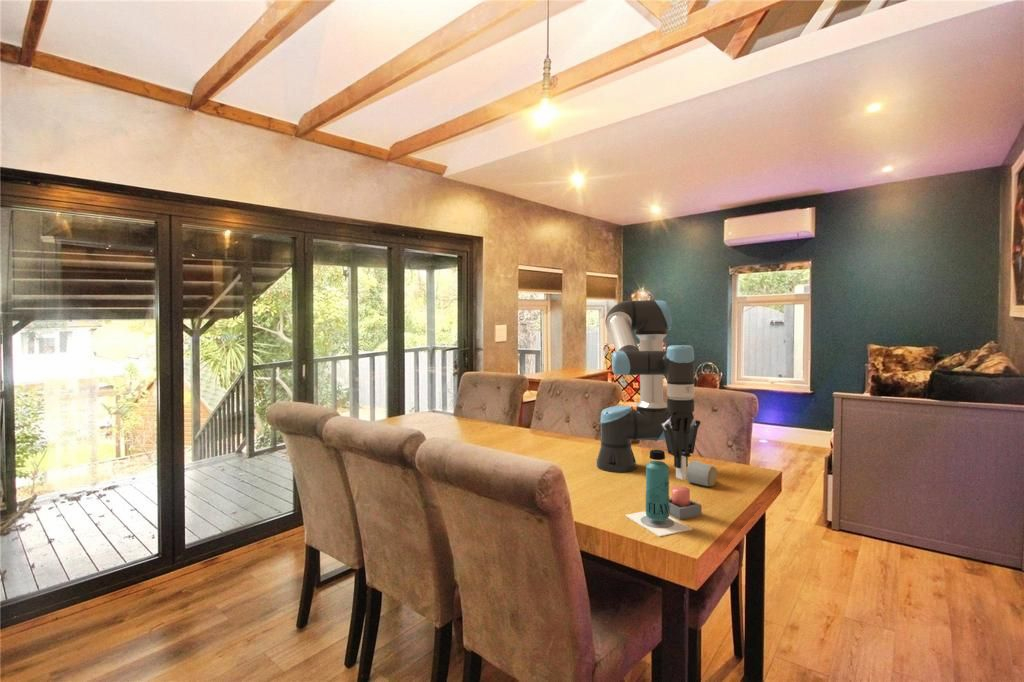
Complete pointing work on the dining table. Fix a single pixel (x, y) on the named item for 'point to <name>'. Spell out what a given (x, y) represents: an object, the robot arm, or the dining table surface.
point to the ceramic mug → (701, 473)
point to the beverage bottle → (657, 487)
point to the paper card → (658, 524)
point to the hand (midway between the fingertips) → (681, 478)
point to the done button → (680, 496)
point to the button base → (685, 510)
